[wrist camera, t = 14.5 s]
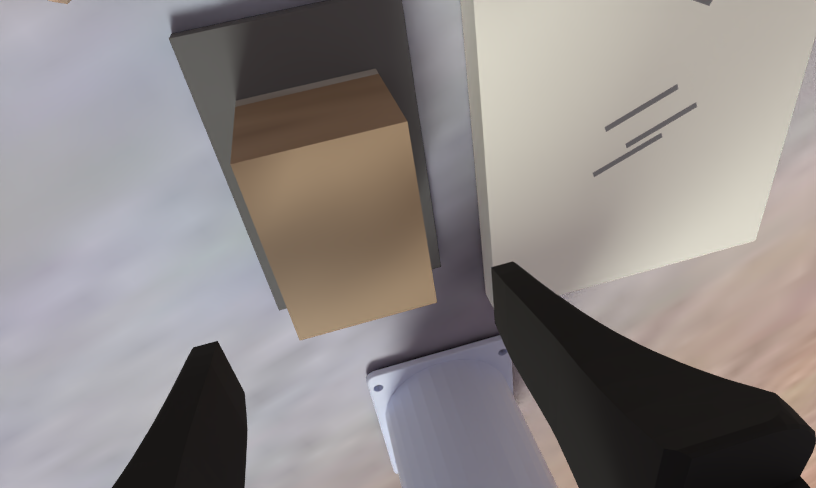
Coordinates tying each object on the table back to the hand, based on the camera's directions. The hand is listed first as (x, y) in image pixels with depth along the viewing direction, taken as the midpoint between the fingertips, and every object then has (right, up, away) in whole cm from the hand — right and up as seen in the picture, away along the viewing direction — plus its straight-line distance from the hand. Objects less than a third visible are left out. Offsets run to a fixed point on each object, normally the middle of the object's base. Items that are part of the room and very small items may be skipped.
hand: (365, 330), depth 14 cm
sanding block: (-2, +5, +7) cm, 9 cm away
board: (+10, +9, +9) cm, 16 cm away
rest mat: (-2, +5, +7) cm, 9 cm away
